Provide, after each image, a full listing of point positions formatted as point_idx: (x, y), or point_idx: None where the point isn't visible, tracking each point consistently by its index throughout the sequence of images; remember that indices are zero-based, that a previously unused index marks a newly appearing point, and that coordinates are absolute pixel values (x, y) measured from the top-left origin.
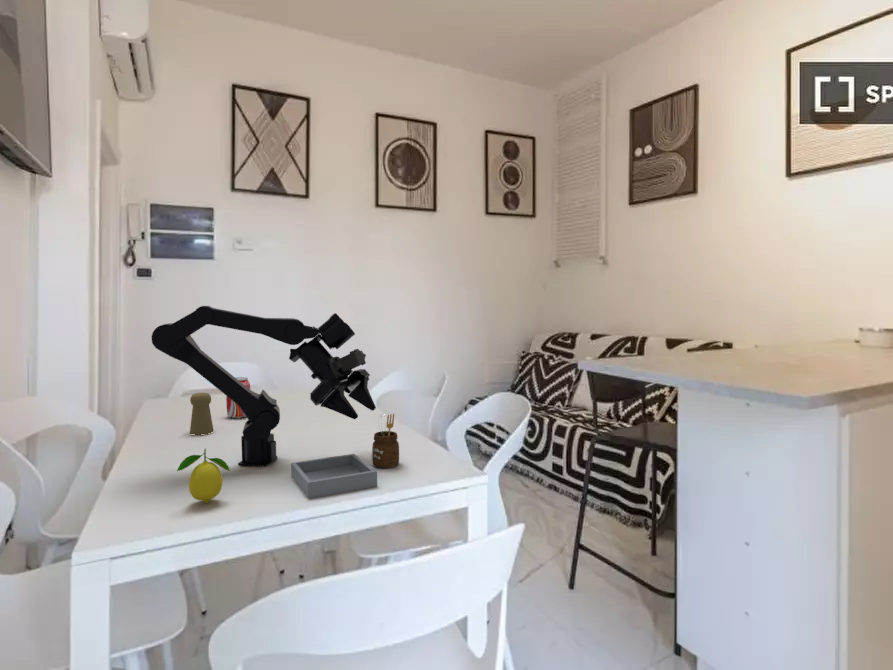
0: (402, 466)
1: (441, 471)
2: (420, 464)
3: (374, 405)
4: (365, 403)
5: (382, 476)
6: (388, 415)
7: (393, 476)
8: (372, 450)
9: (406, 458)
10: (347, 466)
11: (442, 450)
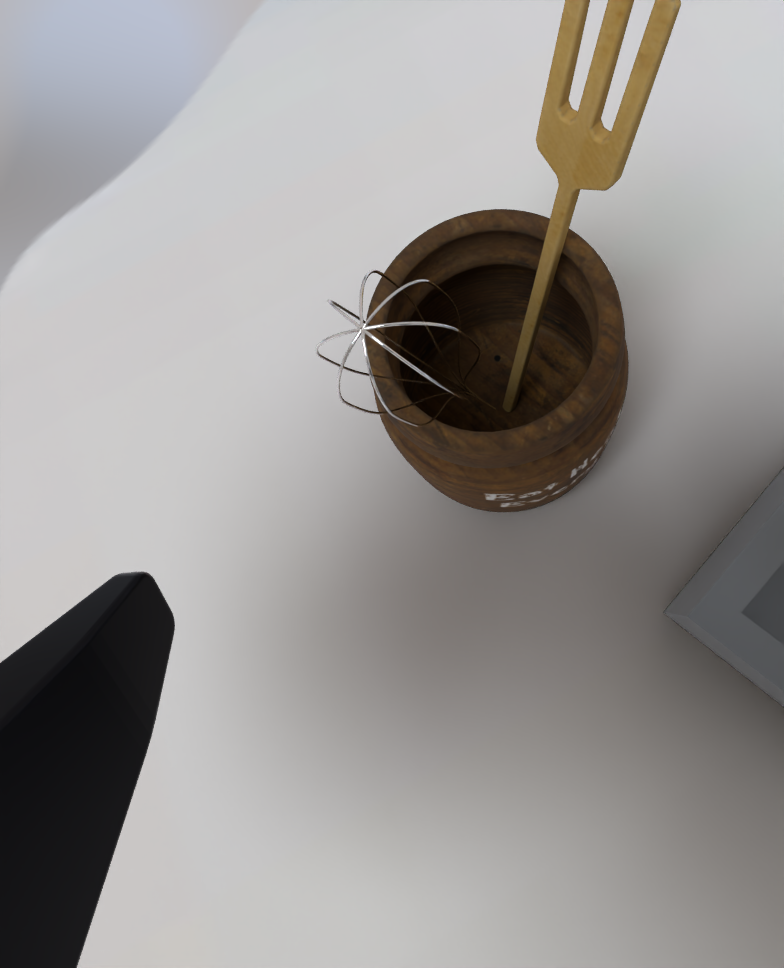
0: None
1: (488, 18)
2: (403, 203)
3: (108, 595)
4: (98, 796)
5: (764, 299)
6: (670, 1)
7: (726, 231)
8: (578, 473)
9: (313, 355)
10: (768, 627)
11: (72, 227)
